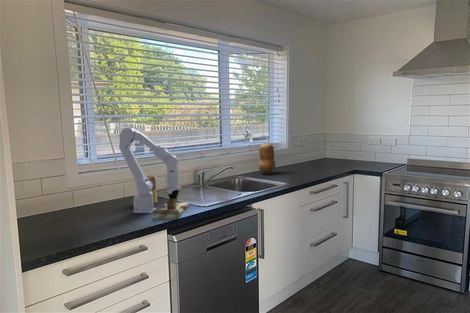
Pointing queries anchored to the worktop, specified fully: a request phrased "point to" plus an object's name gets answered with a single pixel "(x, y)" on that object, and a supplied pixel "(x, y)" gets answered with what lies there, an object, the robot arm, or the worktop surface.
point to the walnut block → (171, 203)
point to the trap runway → (171, 211)
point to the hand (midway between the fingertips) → (173, 204)
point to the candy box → (154, 190)
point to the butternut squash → (266, 158)
